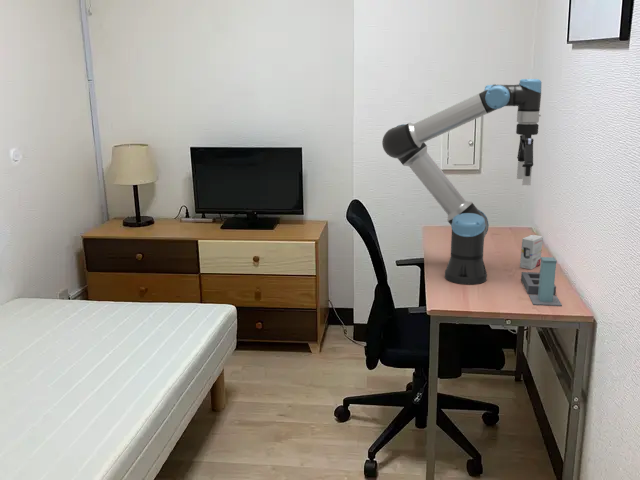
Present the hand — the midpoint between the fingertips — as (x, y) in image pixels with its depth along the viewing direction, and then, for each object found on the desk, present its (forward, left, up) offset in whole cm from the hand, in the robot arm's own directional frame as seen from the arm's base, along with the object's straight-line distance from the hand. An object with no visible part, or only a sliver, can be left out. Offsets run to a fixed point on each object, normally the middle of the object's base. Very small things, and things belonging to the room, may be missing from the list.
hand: (523, 182), depth 233 cm
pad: (-12, -29, -35) cm, 47 cm away
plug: (-12, -29, -34) cm, 46 cm away
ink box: (+10, +4, -35) cm, 37 cm away
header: (-5, -17, -35) cm, 39 cm away
